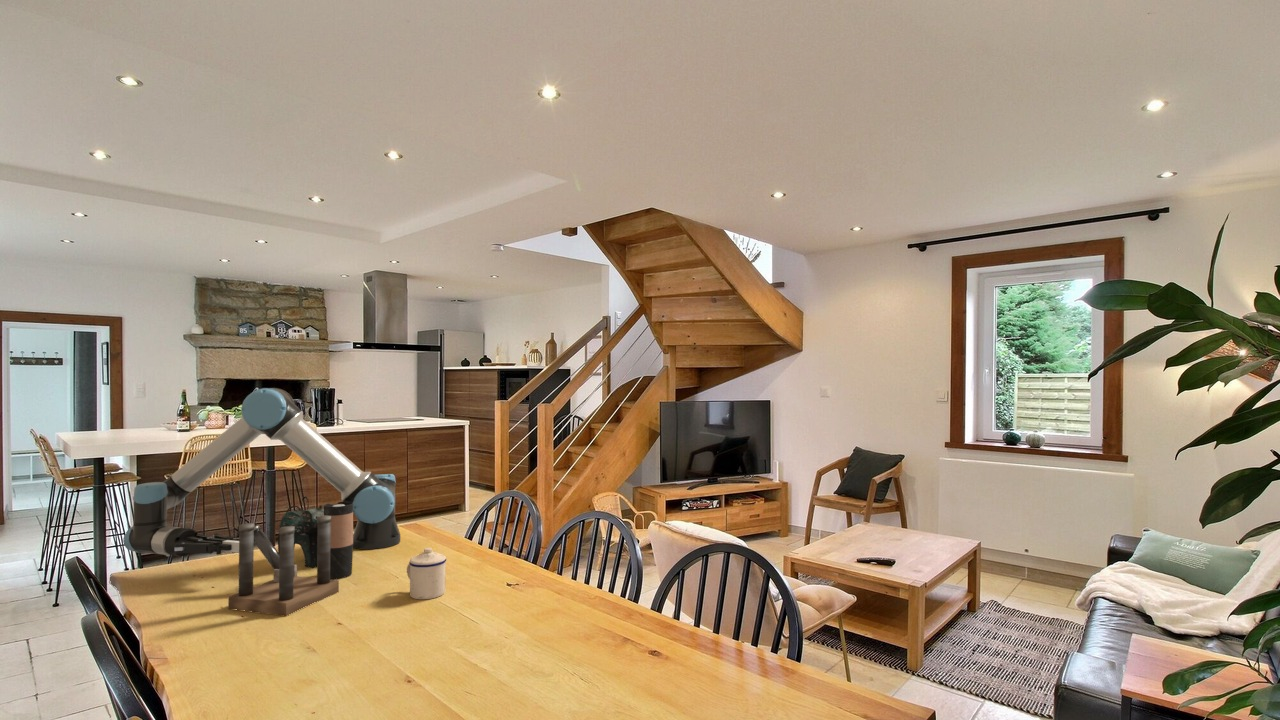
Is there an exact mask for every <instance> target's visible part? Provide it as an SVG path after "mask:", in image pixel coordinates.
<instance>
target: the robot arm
mask: <svg viewBox="0 0 1280 720" xmlns="http://www.w3.org/2000/svg"><path fill="white" fill-rule="evenodd" d="M240 412H241V417H240V419H238V421H236V422H234V423H233V424H232V425H231V426H230V427H229V428H227V429H226V430H225V431H224V432H222V433H221V434H220V435H219V436H218V437H216V438H215V439H214V440H212V442H210V443H209V444H208V445H206V446H205V447H204V448H203V449H202V450H200V451H199V452H198V453H196V455H194V456H193V457H191V458H190V459H189V460H188V461H187V462H186V463H185V464H183V465H182V466H181V467H180V468H178V469H177V470H175V472H173V474H171V475H170V476H168V477H167V478H166V479H165V480H164V481H161V482H160V481H153V482H152V481H151V482H145V483H139V484H137V485H135V487H134V490H133V496H132V500H133V521H132V522H133V524H132V526H130V528H128V529H127V530H126V531H125V535H124V536H123V539H122V541H123V545H124V547H125V548H126V549H127V550H128V551H131V552H135V553H139V554H152V555H153V554H154V555H164V556H165V557H170V556H173V557H174V556H175V557H185V556H189V555H190V554H208V555H209V554H213V553H216V555H221V554H222V552H225V553H234V554H235V553H237V554H239V540H234V537H231V536H227V535H221V534H219V533H216V532H215V533H213V535H204V534H201V533H200V534H198V532H197V531H196V530H195V529H194V528H189V527H178V526H177V527H176V526H167V521H168V519H167V518H168V510H169V509H172V508H174V507H175V506H178V505H179V504H180V503H182V502H183V501H184V499H185V498H186V497H187V496H188V495H190V494H191V493H192V492H193V491H194V490H195V489H197V488H198V487H199V486H200V485H201V484H203V483H204V482H206V480H207V479H209V478H210V477H211V476H212V475H213V474H215V473H216V472H218V470H220V469H221V468H222V467H223V466H225V465H226V464H227V463H228V462H229V461H230V460H232V459H233V458H234V457H235V456H237V455H238V454H240V452H242V450H244V449H245V448H247V446H249V445H250V444H251V443H252V442H253V441H255V440H256V439H257V438H258V437H259V436H261V435H265V436H266V437H268V438H269V439H270V440H271V441H272V440H274V441H275V440H278V441H281V442H282V443H283V444H284V445H285V446H286V447H288V448H289V449H290V450H291V451H292V452H293V453H295V455H297V457H299V458H300V459H301V460H303V461H304V462H305V463H306V464H307V465H308V466H310V468H312V469H313V470H314V471H315V472H316V473H318V475H320V476H321V477H322V478H323V479H325V480H326V481H327V482H328V483H329V485H332V486H333V487H334V488H335V489H336V490H337V491H338V492H340V494H341V495H340V496H341V497H340V498H341V502H352V503H353V515H354V516H355V518H357V521H356V526H355V529H354V530H353V549H358V550H360V549H361V550H374V549H375V550H376V549H384V548H389V547H392V546H395V545H398V544H399V543H401V532H400V529H399V526H398V524H397V520H396V484H397V482H396V481H397V480H396V476H395V475H394V474H393V473H387V474H386V473H385V474H383V473H382V474H374V473H373V472H372V471H363V470H361V469H360V468H359V467H358V466H357V465H356V464H355V463H354V462H352V460H350V459H349V458H348V457H347V456H345V454H343V452H341V451H340V450H339V449H338V448H337V447H335V446H334V445H333V444H332V443H331V442H329V440H328V439H326V438H325V437H324V436H323V435H322V434H321V433H319V432H318V431H317V430H316V429H315V428H314V427H313V426H312V425H310V423H308V422H307V421H306V420H305V419H304V411H302V410H301V409H300V408H299V407H298V406H297V404H295V402H294V399H293V397H292V395H291V394H290V393H288V392H287V391H286V390H284V389H281V388H278V387H262V388H258V389H256V390H254V391H253V392H250V394H248V395H247V396H246V397H245V399H243V402H242V404H241V411H240Z"/></svg>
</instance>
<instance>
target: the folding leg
mask: <svg viewBox="0 0 1280 720" xmlns="http://www.w3.org/2000/svg"><path fill="white" fill-rule="evenodd" d="M254 545H255V546H256V547H257V549H259V551H260V553H261V554H262V555H263V556H264V558H265V559H266V560H267V562H268V563H269V564H270V566H271V567H272V568H273V571H274V570H275V569H279V552H278V549H277V548H276V547H275V545H273V543H272V542H271V540H270V539H269V538H268V536H267V534H265V533H264V531H263V529H262V528H261V526H260V525H259V524H254Z"/></svg>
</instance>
